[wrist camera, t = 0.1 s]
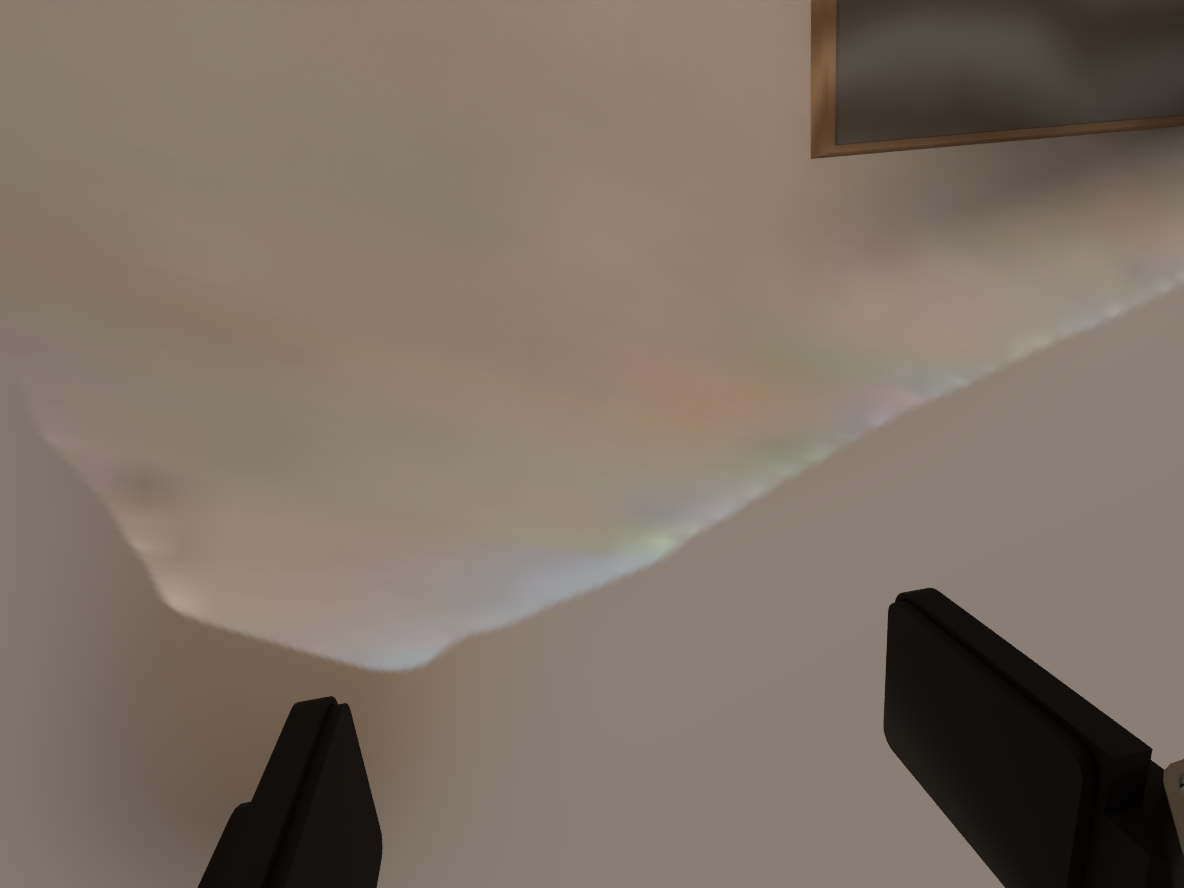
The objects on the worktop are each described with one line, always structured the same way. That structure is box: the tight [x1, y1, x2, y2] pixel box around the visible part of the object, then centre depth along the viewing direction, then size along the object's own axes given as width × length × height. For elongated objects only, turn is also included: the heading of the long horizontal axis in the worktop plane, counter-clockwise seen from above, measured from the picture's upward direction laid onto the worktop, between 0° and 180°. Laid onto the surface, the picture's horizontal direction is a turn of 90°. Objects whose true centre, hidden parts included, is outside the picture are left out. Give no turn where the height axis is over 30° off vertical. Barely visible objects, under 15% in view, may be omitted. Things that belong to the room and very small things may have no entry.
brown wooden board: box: [811, 0, 1184, 159], centre depth 38 cm, size 13×30×2 cm, turn 96°
